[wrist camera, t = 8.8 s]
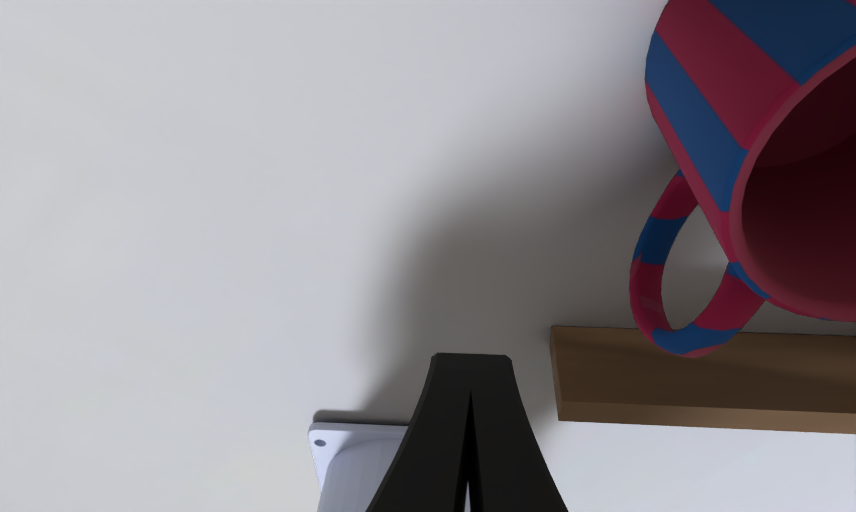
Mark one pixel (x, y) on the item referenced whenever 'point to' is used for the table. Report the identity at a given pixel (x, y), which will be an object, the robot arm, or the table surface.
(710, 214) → the mug
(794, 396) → the frame
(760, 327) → the table surface
